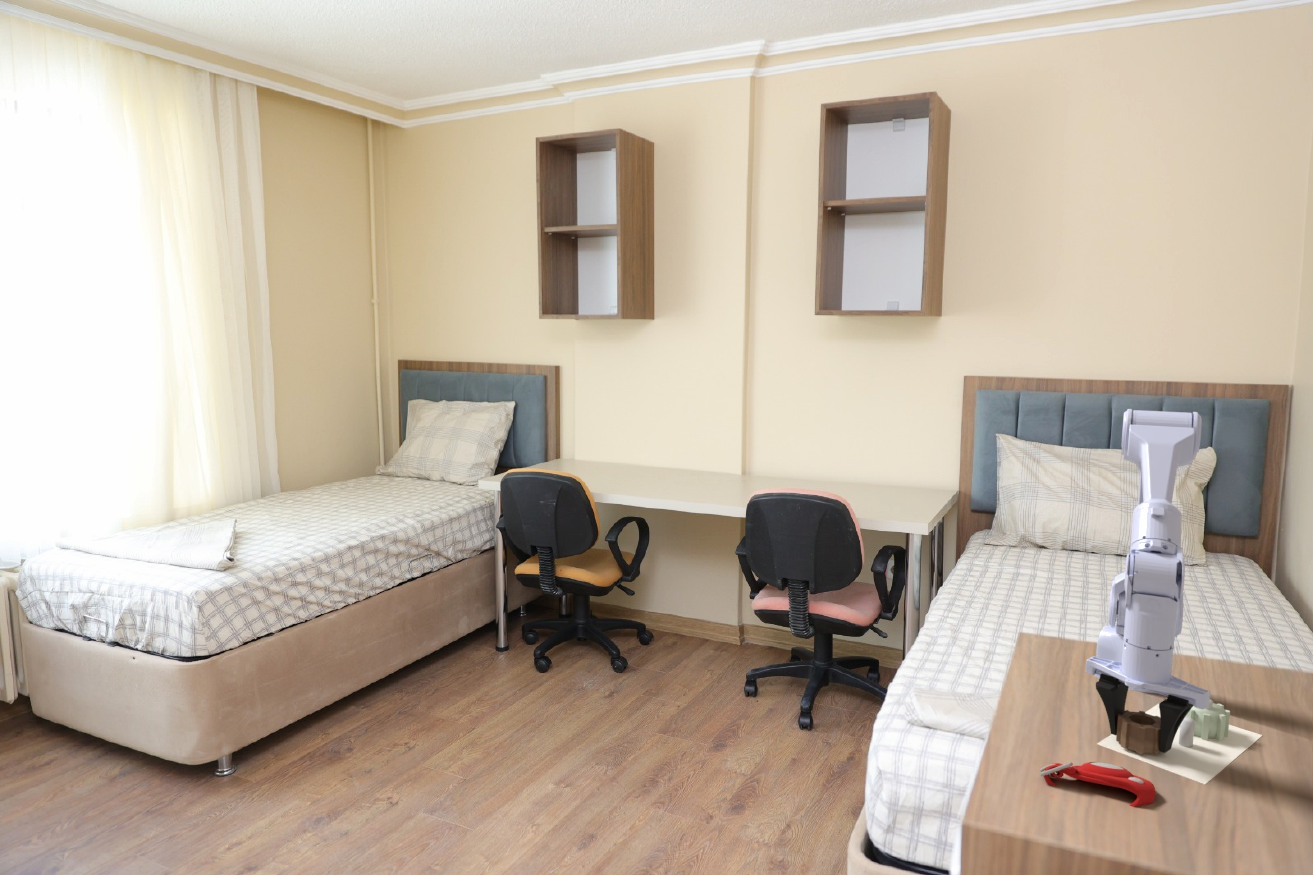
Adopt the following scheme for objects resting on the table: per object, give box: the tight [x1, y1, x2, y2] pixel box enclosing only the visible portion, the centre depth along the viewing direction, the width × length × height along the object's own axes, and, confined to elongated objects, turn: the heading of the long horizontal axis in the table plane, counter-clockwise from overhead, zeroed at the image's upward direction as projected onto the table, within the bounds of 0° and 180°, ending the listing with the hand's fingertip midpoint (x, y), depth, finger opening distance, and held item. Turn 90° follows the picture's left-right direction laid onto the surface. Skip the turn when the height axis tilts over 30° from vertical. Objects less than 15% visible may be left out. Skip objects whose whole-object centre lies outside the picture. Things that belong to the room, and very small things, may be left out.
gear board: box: [1096, 698, 1263, 785], centre depth 118 cm, size 13×20×6 cm, turn 129°
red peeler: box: [1039, 761, 1157, 808], centre depth 106 cm, size 12×4×10 cm
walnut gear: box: [1116, 709, 1161, 755], centre depth 116 cm, size 5×5×4 cm
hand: (1140, 741), depth 116 cm, fingers closed on walnut gear, 5 cm apart
